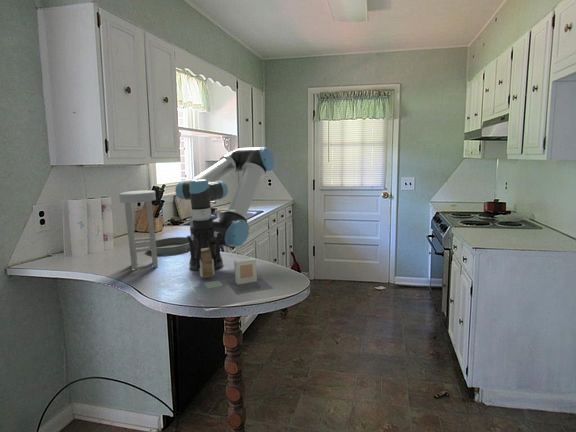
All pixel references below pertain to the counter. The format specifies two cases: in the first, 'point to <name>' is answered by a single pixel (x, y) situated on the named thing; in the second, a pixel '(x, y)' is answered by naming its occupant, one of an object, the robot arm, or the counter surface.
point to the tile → (245, 271)
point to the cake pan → (172, 245)
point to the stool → (128, 199)
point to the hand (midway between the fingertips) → (207, 274)
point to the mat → (250, 286)
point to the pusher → (206, 262)
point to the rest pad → (213, 284)
